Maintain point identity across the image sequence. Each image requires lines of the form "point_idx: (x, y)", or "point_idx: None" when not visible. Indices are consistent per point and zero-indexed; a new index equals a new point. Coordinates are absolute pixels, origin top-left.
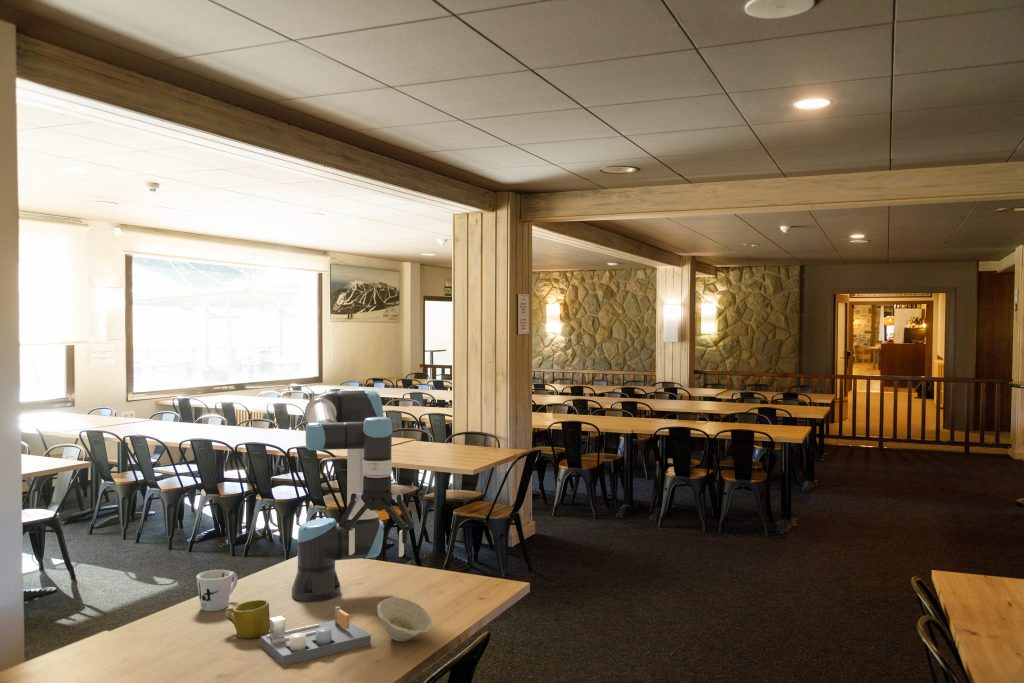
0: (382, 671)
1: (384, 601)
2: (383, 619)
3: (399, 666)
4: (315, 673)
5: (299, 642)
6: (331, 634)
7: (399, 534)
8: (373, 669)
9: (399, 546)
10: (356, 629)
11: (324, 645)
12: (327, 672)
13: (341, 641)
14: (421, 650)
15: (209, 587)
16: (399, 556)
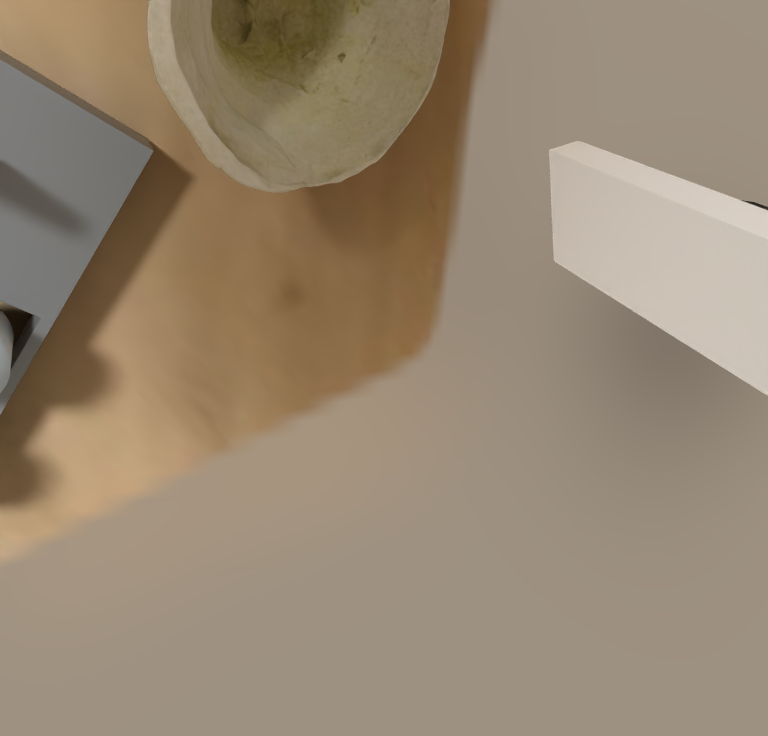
0: (355, 364)
1: (176, 2)
2: (269, 191)
3: (396, 299)
4: (123, 493)
5: None
6: (2, 334)
7: (746, 377)
8: (315, 366)
9: (630, 302)
10: (3, 96)
11: (13, 374)
12: (161, 466)
13: (59, 295)
14: (421, 109)
15: None
16: (559, 258)
